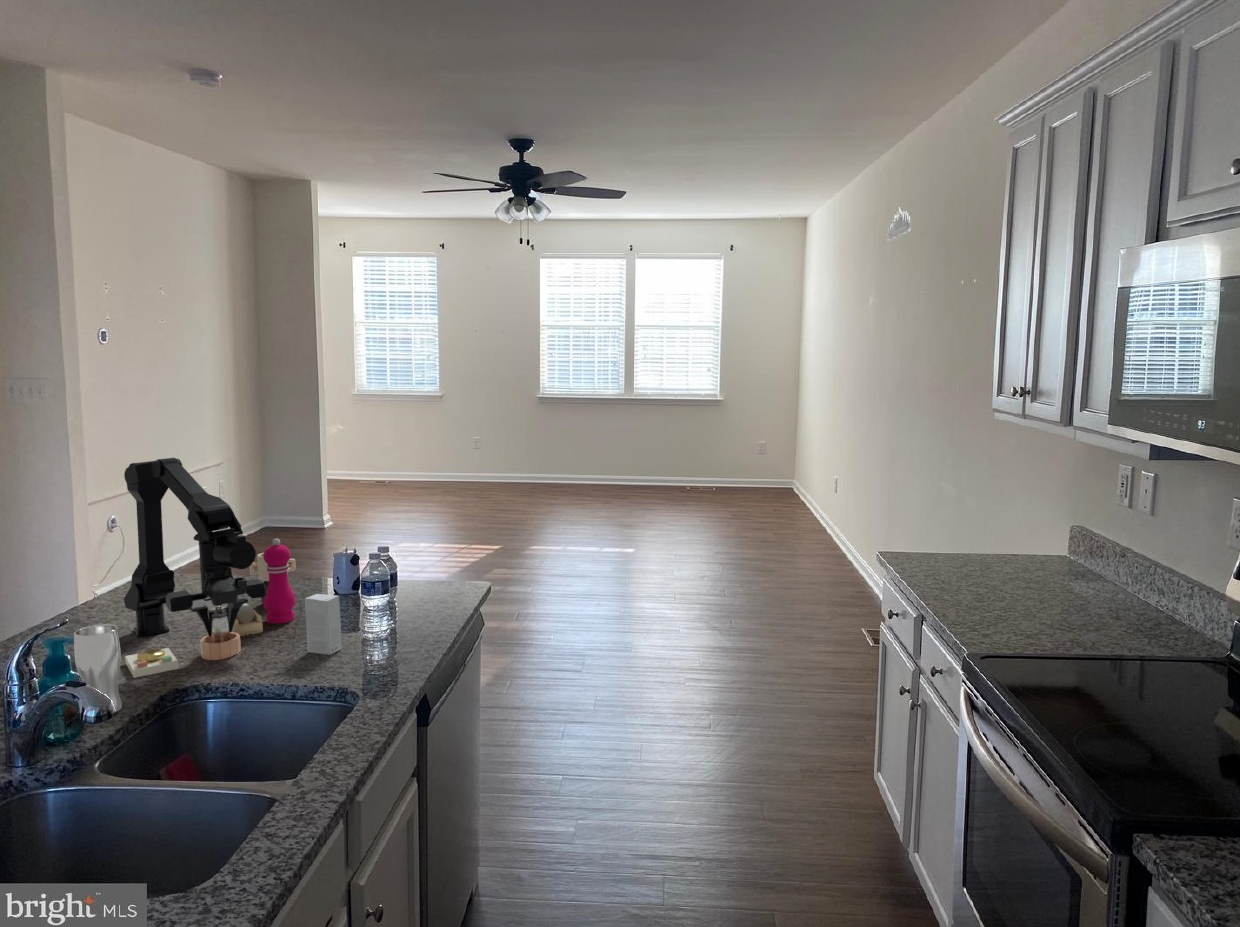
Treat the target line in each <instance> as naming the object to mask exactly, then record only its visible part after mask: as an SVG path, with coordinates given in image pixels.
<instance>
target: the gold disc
mask: <svg viewBox="0 0 1240 927" xmlns="http://www.w3.org/2000/svg"><path fill="white" fill-rule="evenodd" d="M161 649H162V648H160V649H156V648H154V649H148V650H144V651H141V652H140V653H139V652H138V653H137V654H138V655H137V660H138V661H144V660H146V661H147V662H149V661H155V660H158V659H161V657H164V656H165V651H164V650H161Z"/></svg>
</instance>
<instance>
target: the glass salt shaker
mask: <svg viewBox="0 0 1240 927" xmlns="http://www.w3.org/2000/svg"><path fill="white" fill-rule="evenodd" d="M208 617H209V622H210V627H211V636H210V641H211V643H220V642H225V641H229V640H230V628H229V609H228V607H227V606H223V605H220V606H214V607H211V608H208Z"/></svg>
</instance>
